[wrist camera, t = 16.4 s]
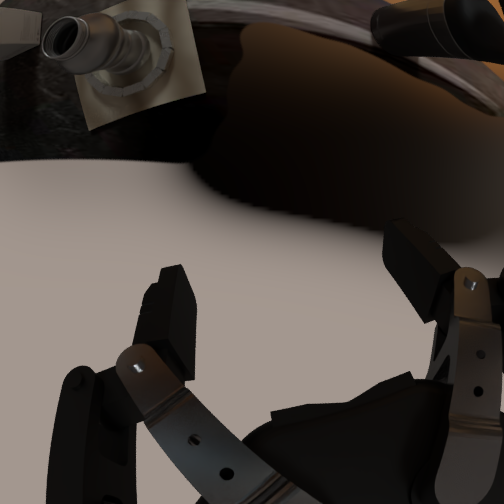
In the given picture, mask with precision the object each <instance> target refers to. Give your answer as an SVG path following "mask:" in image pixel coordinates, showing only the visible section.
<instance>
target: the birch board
mask: <svg viewBox="0 0 504 504" xmlns="http://www.w3.org/2000/svg"><path fill="white" fill-rule="evenodd" d="M129 10H130V11H141V12H150V13H151V14H153V15H155V16H156V17H157V18H158V19H159V20H161V21H162V22H163V23H164V24H165V25H166V26H167V27H168V28H169V29H170V31H171V35H172V39H173V44H174V49H173V50H174V54H173V56H172V59H171V62H170V65H169V68H168V71H167V70H164V71H165V72H166V73H165V74H164V75H163V76H162V77H161V78H160V79H159V80H158V81H157V82H156V83H155V84H154V85H153V86H152V87H151V88H149V89H147V90H144V91H141V92H138V93H135V94H132V95H130V96H125V97H118V96H112V95H105V94H102V93H99V92H98V91H97V90H96V89H95V88H94V87H93V86H92V85H91V84H90V83H88V82H87V80H88V79H86V78H85V74H83V75H74V76H75V80H76V84H77V89H78V93H79V97H80V100H81V104H82V108H83V112H84V115H85V119H86V122H87V126H88V129H89V131H90V130H92V129H95V128H97V127H100V126H102V125H104V124H107V123H109V122H112V121H115V120H117V119H120V118H122V117H125V116H128V115H131V114H134V113H136V112H139V111H142V110H145V109H148V108H151V107H155V106H158V105H161V104H164V103H168V102H171V101H175V100H178V99H182V98H186V97H189V96H193V95H197V94H202V93H206V90H205V85H204V81H203V76H202V72H201V67H200V63H199V58H198V54H197V49H196V45H195V40H194V35H193V31H192V26H191V22H190V17H189V12H188V8H187V3H186V0H128V1H125V2H122V3H120V4H117V5H115V6H112V7H110V8H108V9H105V10H103V11H101V12H99V13H104V14H107V15H109V16H111V17H113V16H115V15H118V14H120V13H123V12H125V11H128V12H129ZM121 27H122V28H123V29H125V30H136V31H139V32H141V33H143V34H144V35H145V36H146V37H147V38H148V40H149V42H150V46H151V51H150V55H149V58H148V60H147V61H146V63H145V64H144V65H143V66H142V67H141V68H140V69H138V70H137V71H135V72H132V73H130V74H127V75H114V74H112V73H109V72H107V71H106V70H99V74H100V75H101V76H102V77H103V78H104V79H105V80H106V81H107V82H108V83H109V84H110V85H113V86H119V87H127V86H130V85H133V84H136V83H138V82H141V81H142V80H143V79H144V78H145V77H146V76H147V75H148V74H149V73H150V72H151V71H152V70H153V69H154V68H155V67H156V65H157V62H158V59H159V57H160V54H161V51H162V44H161V39H160V35H159V31H158V30H157V29H156V28H155V27H153V26H152V25H151V24H149V23H141V22H130V23H127V24H125V25H122V26H121Z"/></svg>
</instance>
